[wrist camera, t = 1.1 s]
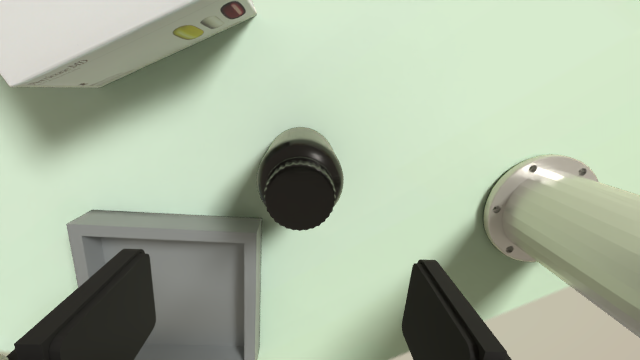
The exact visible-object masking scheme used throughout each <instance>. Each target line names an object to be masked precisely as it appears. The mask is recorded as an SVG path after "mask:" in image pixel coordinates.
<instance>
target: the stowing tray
mask: <svg viewBox="0 0 640 360" xmlns="http://www.w3.org/2000/svg"><path fill="white" fill-rule="evenodd" d="M66 225H67V230H68V235H69V241H70V246H71V251H72V256H73V262H74V267H75V272H76V278H77V283H78V288H79V287H80V286H81V285H82V284H83V283H84V282H86V281H87V280H88V279H89V278H90V277H91V276H92V275H94V274H95V273H96V272H97V271H98V270H99V269H100V268H102V267H103V266H104V265H105V264H106V263H107V262H108V261H110V260H111V259H112V258H113V257H114V256H115V255H116V254H118V253H119V252H120V251H121V250H122V249H143V250H144V252H145V254H149V256H150V264H151V273H152V283H153V292H154V302H155V311H156V323H155V326H154V329H153V330H152V332H151V334H150V335H149V337H148V338H147V340H146V341H145V343H144V345H143V346H142V348H141V349H140V351H139V353H138V354H137V356H136V357H135V359H134V360H257V358H258V353H259V345H260V292H261V239H262V218H243V217H224V216H204V215H184V214H164V213H144V212H124V211H104V210H91V211H89V212H87V213H85V214H84V215H82V216H80V217H78V218H76V219H75V220H73V221H71V222H69V223H67V224H66Z"/></svg>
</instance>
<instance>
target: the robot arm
mask: <svg viewBox="0 0 640 360" xmlns="http://www.w3.org/2000/svg"><path fill="white" fill-rule="evenodd" d="M483 219H484V228H485V231H486V234H487V236H488V238H489V239H490V241H491V243H492V244H493V245H494V246H495V247H496V248H497V249H498V250H500V251H501V252H502V253H503V254H505V255H506V256H508V257H510V258H513V259H515V260H519V261H525V262H536V261H537V262H539V263H540V264H541V265H543V266H544V267H545V268H547V269H548V270H549V271H551V272H552V273H553V274H555V275H556V276H557V277H559V278H560V279H561V280H563V281H564V282H566V283H567V284H568V285H570V286H571V287H572V288H574V289H575V290H576V291H578V292H579V293H580V294H582V295H583V296H584V297H586V298H587V299H588V300H590V301H591V302H592V303H594V304H595V305H596V306H598V307H599V308H600V309H602V310H603V311H604V312H606V313H607V314H608V315H610V316H611V317H613V318H614V319H615V320H616V321H618V322H619V323H620V324H622V325H623V326H625V327H626V328H627V329H628V330H630V331H631V332H633V333H634V334H635V335H637V336H638V337H639V338H640V195H638V194H634V193H631V192H628V191H625V190H622V189H619V188H615V187H612V186H609V185H606V184H603V183H600V182H598V179H597V177H596V175H595V174H594V172H593V171H592V170H591V169H590V168H589V167H588V166H587V165H585V164H584V163H583V162H581V161H579V160H576V159H574V158H571V157H567V156H563V155H553V154H549V155H541V156H536V157H533V158H530V159H527V160H525V161H523V162H521V163H519V164H517V165H516V166H514V167H513V168H512V169H510V170H509V171H507V172H506V173H505V174H504V175H503V176H502V177H501V178H500V179H499V181H498V182H497V183H496V185H495V186H494V187H493V189H492V191H491V193H490V195H489V197H488V199H487V202H486V205H485V208H484V218H483ZM155 323H156V311H155V302H154V292H153V283H152V273H151V264H150V256H149V254H145V252H144V250H143V249H122V250H121V251H120V252H119V253H118V254H116V255H115V256H114V257H113V258H112V259H111V260H110V261H108V262H107V263H106V264H105V265H104V266H103V267H102V268H100V269H99V270H98V271H97V272H96V273H95V274H94V275H92V276H91V277H90V278H89V279H88V280H87V281H86V282H84V283H83V284H82V285H81V286H80V287H79V288H78V289H76V290H75V291H74V292H73V293H72V294H71V295H70V296H68V297H67V298H66V299H65V300H64V301H63V302H62V303H60V304H59V305H58V306H57V307H56V308H55V309H54V310H52V311H51V312H50V313H49V314H48V315H47V316H46V317H44V318H43V319H42V320H41V321H40V322H39V323H38V324H36V325H35V326H34V327H33V328H32V329H31V330H30V331H28V332H27V333H26V334H25V335H24V336H23V337H22V338H20V339H19V340H18V341H17V342H16V343H15V344H14V346H15V349H14V350H13V351H12V352H11V353H10V354H9V355H8V356H7V357H6V356H4V355H1V354H0V360H134V359H135V357H136V356H137V354H138V353H139V351H140V349H141V348H142V346H143V345H144V343H145V341H146V340H147V338H148V337H149V335H150V334H151V332H152V330H153V329H154V326H155ZM402 331H403V335H404V337H405V340H406V342H407V345H408V347H409V350H410V352H411V355H412V357H413V360H511V358H510V357H509V356H508V354H507V351H506V350H505V349H504V347H503V346H502V345H501V344H500V342H499V341H498V340H497V338H496V337H495V336H494V335H493V334H492V332H491V331H490V329H489V328H488V327H487V325H486V324H485V323H484V322H483V320H482V319H481V318H480V316H479V315H478V314H477V313H476V311H475V310H474V309H473V307H472V306H471V305H470V303H469V302H468V301H467V300H466V298H465V297H464V296H463V294H462V293H461V292H460V291H459V289H458V288H457V287H456V285H455V284H454V283H453V281H452V280H451V279H450V278H449V276H448V275H447V274H446V272H445V271H444V270H443V269H442V267H441V266H440V265H439V263H438V262H437V261H436V260H419V261H418V263H417V264H414V265H413V268H412V273H411V278H410V284H409V289H408V294H407V300H406V305H405V310H404V316H403V321H402Z"/></svg>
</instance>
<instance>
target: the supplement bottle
mask: <svg viewBox="0 0 640 360" xmlns="http://www.w3.org/2000/svg"><path fill="white" fill-rule="evenodd" d="M257 188H258V192H259V195H260V197H261V199H262V201H263V203H264V204H265V206H266V207H267V211H268V212H269V213H270V216H271V217H272V218H274V220H275V222H278V223H279V224H280V225H281V226H285V227H286V228H290V229H292V230H299V231H300V230H308V229H310V228H314V227H315V226H319V225H320V224H321V223H322V222H324V221H325V219H326V218H328V217H329V215H330V213H331V212H332V211H333V207H334V206H335V205H336V203H337V202H338V200H339V198H340V195H341V193H342V189H343V172H342V168H341V165H340V163H339V161H338V159H337V157H336V155H335V153H334V151H333V149H332V147H331V145H330V144H329V142H328V141H327V140H326V138H325V137H324V136H323V135H321V134H320V133H318V132H317V131H315V130H313V129H310V128H305V127H296V128H291V129H288V130H286V131H284V132H282V133H281V134H280V135H278V136H277V137H276V138H275V140H274V141H273V142H272V144H271V145H270V147H269V149H268V151H267V152H266V154H265V156H264V157H263V159H262V161H261V163H260V166H259V169H258V173H257Z"/></svg>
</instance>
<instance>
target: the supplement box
mask: <svg viewBox="0 0 640 360" xmlns="http://www.w3.org/2000/svg"><path fill="white" fill-rule="evenodd" d="M256 15H257V12H256V9H255V7H254V4H253V2H252V0H0V74H1V76H2V77H3V78H4V80H5V81H6V82H7V84H8V85H9V86H10V87H80V88H100V87H103V86H105V85H107V84H109V83H111V82H113V81H116V80H118V79H120V78H122V77H124V76H126V75H129V74H131V73H133V72H135V71H137V70H139V69H141V68H144V67H146V66H148V65H150V64H152V63H154V62H157V61H159V60H161V59H163V58H165V57H168V56H170V55H172V54H174V53H176V52H179V51H181V50H183V49H185V48H187V47H189V46H192V45H194V44H196V43H198V42H200V41H203V40H205V39H207V38H209V37H211V36H213V35H215V34H218V33H220V32H222V31H224V30H226V29H229V28H231V27H233V26H235V25H237V24H239V23H241V22H243V21H246V20H248V19H250V18H252V17H254V16H256Z"/></svg>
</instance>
